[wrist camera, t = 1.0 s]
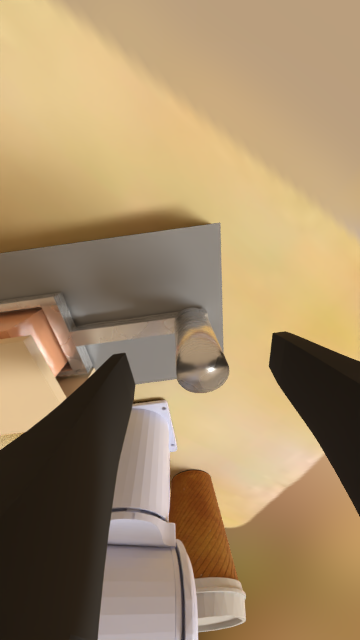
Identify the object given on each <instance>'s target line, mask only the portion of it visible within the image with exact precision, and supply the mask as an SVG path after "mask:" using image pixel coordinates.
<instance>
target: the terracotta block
mask: <svg viewBox="0 0 360 640" xmlns="http://www.w3.org/2000/svg"><path fill="white" fill-rule="evenodd" d="M27 335H32V337H33V339H34V341H35V343H36V344H37V346H38V348H39V350H40V351H41V353H42V355H43V357H44V359H45V360H46V362H47V364H48V366H49V367H50V369H51V371H52V373H53V375H54V376H55V377H56V376H57V374H58V373H59V372H60V371H61V369H62V368H63V367H64V365H65V364H66V363H67V362H68V360H67V358H66V356H65V354H64V352H63V350H62V348H61V346H60V344H59V342H58V339H57V337H56V335H55V333H54V331H53V329H52V327H51V325H50V323H49V321H48V319H47V317H46V315H45V313H44V311H43V309H42V307H40V308H33V309H25V310H18V311H11V312H3V313H0V339H5V338H13V337H20V336H27Z"/></svg>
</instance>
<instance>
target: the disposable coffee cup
mask: <svg viewBox="0 0 360 640" xmlns="http://www.w3.org/2000/svg"><path fill="white" fill-rule="evenodd" d="M169 522H170V523H175V532H176V539H179V540H180V541H181V542H182V543H183V545H184V547H185V549H186V552H187V554H188V556H189V559H190V562H191V565H192V569H193V574H194V580H195V587H196V596H197V610H198V632H205V631H212V630H219V629H224V628H228V627H233V626H236V625H239V624H242V623H243V622H245V621H246V618H245V617H246V616H245V604H244V600H245V599H246V595H245V592H244V591H243V590H242V587H241V583H240V582H239V581H238V577H237V574H236V570H235V566H234V562H233V558H232V555H231V551H230V548H229V543H228V540H227V536H226V533H225V529H224V525H223V521H222V517H221V514H220V510H219V507H218V503H217V499H216V496H215V492H214V488H213V484H212V481H211V477H210V475H209V474H207V473H206V472H203V471H198V470H190V471H185V472H182V473H179V474H177V475H176V476H175V477H174V478H173V479H172V486H171V497H170V509H169Z"/></svg>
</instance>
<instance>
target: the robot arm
mask: <svg viewBox="0 0 360 640" xmlns="http://www.w3.org/2000/svg"><path fill="white" fill-rule="evenodd" d="M269 367H270V369H271V371H272V373H273V375H274V377H275V379H276V381H277V383H278V385H279V386H280V388H281V389H282V390H283V392H284V393H285V395H286V396H287V398H288V399H289V401H290V402H291V403H292V405H293V406H294V408H295V409H296V410H297V412H298V413H299V415H300V416H301V418H302V419H303V420H304V422H305V423H306V425H307V426H308V427H309V429H310V430H311V432H312V433H313V435H314V436H315V438H316V439H317V441H318V443H319V444H320V446H321V448H322V449H323V451H324V453H325V454H326V456H327V458H328V460H329V461H330V463H331V465H332V466H333V468H334V470H335V472H336V473H337V475H338V477H339V478H340V481H341V483H342V484H343V486H344V488H345V490H346V492H347V493H348V495H349V497H350V499H351V501H352V502H353V504H354V506H355V508H356V510H357V512H358V514H359V516H360V361H357V360H354V359H352V358H349V357H347V356H344V355H342V354H339V353H337V352H334V351H332V350H330V349H327V348H325V347H323V346H320V345H318V344H315V343H313V342H311V341H308V340H306V339H304V338H301V337H299V336H296V335H294V334H291V333H288V332H278V333H273V336H272V344H271V353H270V361H269ZM134 392H135V381H134V378H133V375H132V372H131V368H130V365H129V362H128V359H127V356H126V353H119V354H113V355H112V356H111V357H110V358H108V359H107V360H106V361H105V362H104V363H103V364H102V365H101V366H100V367H99V368H98V369H97V370H96V371H95V372H94V373H93V374H92V375H91V376H90V377H89V378H88V379H87V380H86V381H85V382H84V383H83V384H82V385H81V386H80V387H79V388H77V389H76V390H75V391H74V392H73V393H72V394H71V395H70V396H69V397H67V398H66V399H65V400H64V401H63V402H62V403H61V404H60V405H59V406H57V407H56V408H55V409H54V410H53V411H51V412H50V413H49V414H48V415H47V416H45V417H44V418H43V419H42V420H40V421H39V422H38V423H36V424H35V425H34V426H33V427H31V428H30V429H29V430H28V431H26V432H25V433H24V434H22V435H21V436H19V437H18V438H17V439H15V440H14V441H12V442H11V443H10V444H8V445H7V446H5V447H4V448H3V449H1V450H0V640H198V610H197V596H196V587H195V580H194V574H193V569H192V565H191V562H190V559H189V556H188V554H187V552H186V549H185V547H184V545H183V543H182V542H181V541H180V540H179V539H176V532H175V523H170V522H169V509H170V452H174V451H176V450H177V443H176V439H175V434H174V430H173V425H172V421H171V416H170V412H169V407H168V403H167V401H165V400H159V401H151V402H144V403H136V404H133V400H134Z"/></svg>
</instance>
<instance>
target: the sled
mask: <svg viewBox="0 0 360 640" xmlns="http://www.w3.org/2000/svg"><path fill="white" fill-rule="evenodd" d="M35 307H42V309H43V311H44V313H45V315H46V317H47V319H48V321H49V323H50V325H51V327H52V329H53V331H54V333H55V335H56V337H57V339H58V342H59V344H60V346H61V348H62V350H63V352H64V354H65V356H66V358H67V360H68V362H69V363H68V364H65V365H64V367H63V368H62V369H61V371H60V372H59V373H58V374H57V376H56V377H55V378H59V377H67V376H74V375H82V374H88V373H89V371H90V369H91V368H92V366H93V365H92V362H91V360H90V357H89V355H88V353H87V350H86V348H85V346H84V345H91V344H99V343H106V342H114V341H121V340H129V339H136V338H144V337H151V336H159V335H166V334H175V356H176V376H177V380H178V382H179V384H180V385H181V386H182V387H183V388H184V389H186V390H188V391H190V392H194V393H206V392H210V391H213V390H215V389H217V388H219V387H220V386H222V385H223V384H224V383H225V381H226V380H227V378H228V375H229V366H228V363H227V361H226V359H225V356H224V354H223V352H222V349H221V347H220V345H219V343H218V340H217V338H216V336H215V333H214V331H213V329H212V327H211V324H210V322H209V320H208V313H207V311H206V308H201V309H198V308H186V309H184V310H182V311H179V312H172V313H164V314H157V315H149V316H142V317H135V318H127V319H120V320H112V321H105V322H98V323H90V324H83V325H75V322H74V320H73V318H72V315H71V313H70V310H69V308H68V306H67V303H66V301H65V299H64V296H63V294H62V292H60V293H53V294H46V295H38V296H31V297H24V298H16V299H9V300H2V301H0V312H5V311H13V310H20V309H27V308H35Z"/></svg>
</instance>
